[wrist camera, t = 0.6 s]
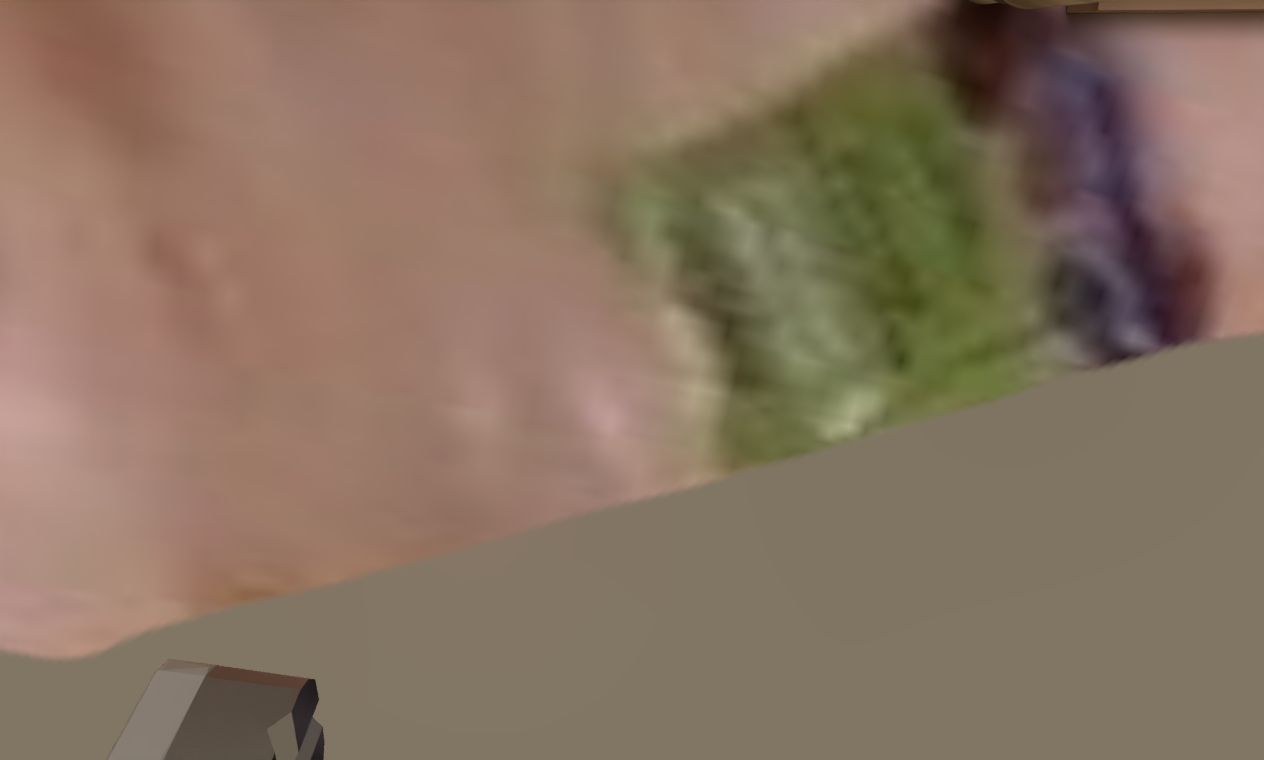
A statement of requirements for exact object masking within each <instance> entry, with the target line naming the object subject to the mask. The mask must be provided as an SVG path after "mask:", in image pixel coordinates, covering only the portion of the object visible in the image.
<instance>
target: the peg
mask: <svg viewBox="0 0 1264 760" xmlns="http://www.w3.org/2000/svg"><path fill="white" fill-rule="evenodd" d="M968 1H970V2H972V3H976V4H992V3H1001V4H1007V5H1012V6H1014V7H1017V8H1022V9H1035V8H1045V7H1055V6H1065V5H1075V4H1085V3H1095V2H1105V1H1116V0H968Z"/></svg>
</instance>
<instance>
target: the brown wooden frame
mask: <svg viewBox="0 0 1264 760" xmlns="http://www.w3.org/2000/svg"><path fill="white" fill-rule="evenodd" d="M1251 11H1264V0H1116V1H1105V2H1095V3H1085V4H1075V5H1067V12H1066V13H1120V12H1251Z"/></svg>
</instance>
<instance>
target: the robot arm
mask: <svg viewBox="0 0 1264 760" xmlns="http://www.w3.org/2000/svg"><path fill="white" fill-rule="evenodd" d="M318 701H319V698H318V692H317V686H316V681H315V679H309V678H302V677H295V676H288V675H281V674H274V673H267V672H260V671H253V670H246V669H238V668H231V667H224V666H219V665H212V664H205V663H196V662H189V661H180V660H172V659H168V660H167V661H166V662H165V663H164V664H163V665H162V666H161V667H160V668H159V669H158V670H157V671H156V672H155V673H154V675H153V677H152V678H151V680H150V682H149V684H148V686H147V687H146V689H145V691H144V693H143V695H142V696H141V698H140V700H139V702H138V703H137V705H136V707H135V709H134V711H133V712H132V714H131V716H130V718H129V720H128V721H127V723H126V725H125V727H124V728H123V730H122V732H121V734H120V736H119V737H118V739H117V741H116V743H115V745H114V746H113V748H112V750H111V752H110V753H109V755H108V757H107V759H106V760H323V759H324V735H323V727H322V726H321V725H320V724H319V723H318V722H317V721H316V720H315V719H314V718H313V714H314V712H315V709H316V706H317V704H318Z"/></svg>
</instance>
